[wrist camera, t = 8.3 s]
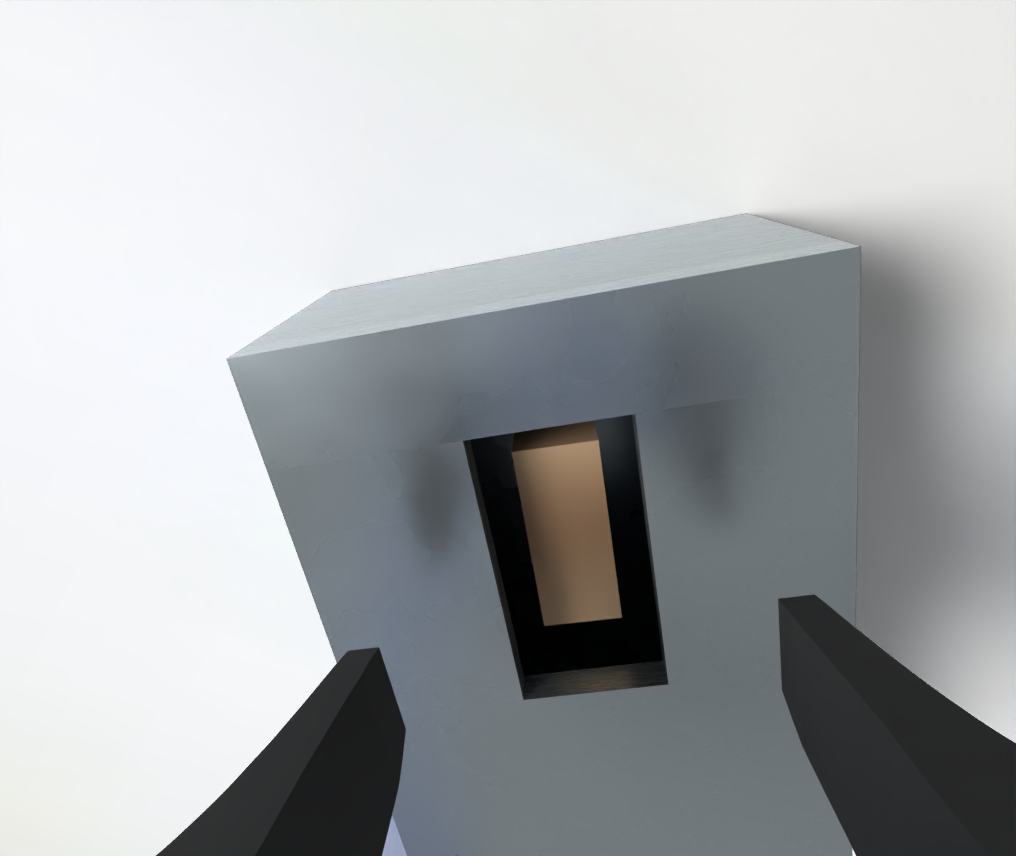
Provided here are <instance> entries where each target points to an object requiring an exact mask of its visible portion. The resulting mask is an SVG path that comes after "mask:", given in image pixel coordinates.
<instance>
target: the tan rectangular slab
mask: <svg viewBox="0 0 1016 856" xmlns="http://www.w3.org/2000/svg"><path fill="white" fill-rule="evenodd" d="M512 457H513V463H514V468H515V473H516V478H517V484H518V489H519V494H520V500H521V505H522V510H523V516H524V521H525V526H526V531H527V537H528V542H529V547H530V553H531V558H532V563H533V569H534V574H535V579H536V584H537V590H538V595H539V600H540V606H541V611H542V616H543V622H544V626H549V625H558V624H567V623H576V622H586V621H595V620H604V619H613V618H622V614H621V607H620V599H619V592H618V584H617V577H616V569H615V561H614V554H613V546H612V539H611V531H610V524H609V516H608V509H607V501H606V494H605V486H604V478H603V471H602V463H601V456H600V448H599V441H598V436H597V431H596V425H595V420H593V421H587V422H580V423H574V424H567V425H561V426H554V427H548V428H542V429H535V430H529V431H522V432H516V433H513V443H512Z"/></svg>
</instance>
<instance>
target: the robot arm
mask: <svg viewBox="0 0 1016 856" xmlns="http://www.w3.org/2000/svg"><path fill="white" fill-rule="evenodd" d="M778 609H779V634H780V658H781V683H782V692H783V694H784V697H785V700H786V703H787V706H788V708H789V711H790V714H791V717H792V720H793V723H794V725H795V728H796V731H797V733H798V736H799V739H800V741H801V744H802V747H803V749H804V751H805V753H806V755H807V757H808V759H809V761H810V763H811V765H812V767H813V769H814V771H815V773H816V775H817V777H818V779H819V782H820V784H821V786H822V788H823V790H824V792H825V794H826V796H827V798H828V800H829V802H830V804H831V806H832V808H833V810H834V812H835V814H836V816H837V818H838V820H839V822H840V824H841V826H842V828H843V830H844V832H845V834H846V836H847V838H848V840H849V842H850V844H851V846H852V848H853V850H854V852H855V854H856V856H1016V743H1014V742H1013V741H1011V740H1009V739H1008V738H1006V737H1004V736H1003V735H1001V734H1000V733H998V732H996V731H995V730H993V729H992V728H990V727H989V726H987V725H986V724H984V723H983V722H981V721H979V720H978V719H977V718H975V717H974V716H972V715H971V714H969V713H968V712H966V711H965V710H963V709H962V708H961V707H959V706H958V705H956V704H955V703H953V702H952V701H950V700H949V699H948V698H946V697H945V696H943V695H942V694H941V693H939V692H938V691H936V690H935V689H934V688H932V687H931V686H930V685H928V684H927V683H926V682H924V681H923V680H922V679H920V678H919V677H918V676H916V675H915V674H914V673H912V672H911V671H910V670H908V669H907V668H906V667H904V666H903V665H902V664H900V663H899V662H898V661H897V660H895V659H894V658H893V657H891V656H890V655H889V654H887V653H886V652H885V651H884V650H882V649H881V648H880V647H879V646H877V645H876V644H875V643H874V642H872V641H871V640H870V639H869V638H868V637H866V636H865V635H864V634H863V633H861V632H860V631H859V630H858V629H856V628H855V627H854V626H853V625H852V624H850V623H849V622H848V621H847V620H846V619H844V618H843V617H842V616H841V615H840V614H838V613H837V612H836V611H835V610H834V609H832V608H831V607H830V606H829V605H828V604H826V603H825V602H824V601H823V600H821V599H820V598H819V597H817V596H816V595H815V594H813V595H805V596H797V597H788V598H780V599H778ZM405 734H406V728H405V725H404V722H403V718H402V715H401V712H400V709H399V706H398V703H397V700H396V697H395V694H394V691H393V688H392V685H391V682H390V679H389V676H388V673H387V670H386V667H385V664H384V661H383V657H382V654H381V651H380V648H379V647H375V648H367V649H359V650H350V651H347V652H346V654H345V655H344V656H343V657H342V658H341V659H340V660H339V662H338V663H337V664H336V665H335V666H334V667H333V669H332V670H331V671H330V672H329V674H328V675H327V676H326V677H325V678H324V680H323V681H322V682H321V683H320V684H319V686H318V687H317V688H316V689H315V690H314V692H313V693H312V694H311V695H310V696H309V698H308V699H307V700H306V701H305V703H304V704H303V705H302V706H301V707H300V708H299V710H298V711H297V712H296V713H295V714H294V715H293V717H292V718H291V719H290V720H289V721H288V722H287V724H286V725H285V726H284V727H283V728H282V729H281V731H280V732H279V733H278V734H277V735H276V737H275V738H274V739H273V740H272V741H271V742H270V743H269V744H268V745H267V746H266V748H265V749H264V750H263V751H262V752H261V753H260V754H259V755H258V756H257V757H256V758H255V759H254V761H253V762H252V763H251V764H250V765H249V766H248V767H247V768H246V769H245V770H244V771H243V772H242V774H241V775H240V776H239V777H238V778H237V779H236V780H235V781H234V782H233V783H232V784H231V785H230V786H229V788H228V789H227V790H226V791H225V792H224V793H223V794H222V795H221V796H220V797H219V798H218V799H217V800H216V801H215V802H214V803H213V804H212V805H211V806H210V807H209V808H207V809H206V810H205V811H204V812H203V813H202V814H201V815H200V816H199V817H198V818H197V819H196V820H195V821H194V822H193V823H192V824H191V825H190V826H188V827H187V828H186V829H185V830H184V831H183V832H182V833H181V834H180V835H179V836H178V837H177V838H176V839H175V840H173V841H172V842H171V843H170V844H169V845H168V846H167V847H166V848H164V849H163V850H162V851H161V852H160V853H159V854H157V855H156V856H407V854H406V852H405V849H404V846H403V843H402V841H401V838H400V835H399V832H398V830H397V827H396V824H395V821H394V819H393V816H392V813H393V809H394V805H395V801H396V797H397V792H398V788H399V782H400V775H401V768H402V760H403V752H404V743H405Z"/></svg>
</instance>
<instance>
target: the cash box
mask: <svg viewBox="0 0 1016 856" xmlns="http://www.w3.org/2000/svg"><path fill="white" fill-rule="evenodd" d="M860 268H861V246H858V245H855V244H851V243H848V242H844V241H841V240H837V239H834V238H830V237H827V236H823V235H820V234H816V233H813V232H809V231H806V230H802V229H799V228H795V227H792V226H788V225H785V224H781V223H778V222H774V221H771V220H767V219H764V218H760V217H757V216H753V215H750V214H741V215H735V216H730V217H725V218H719V219H714V220H709V221H703V222H698V223H693V224H687V225H682V226H677V227H671V228H666V229H660V230H655V231H650V232H644V233H639V234H634V235H628V236H623V237H618V238H612V239H607V240H602V241H596V242H591V243H585V244H580V245H575V246H569V247H564V248H559V249H553V250H548V251H543V252H537V253H532V254H527V255H521V256H516V257H511V258H505V259H500V260H494V261H489V262H484V263H478V264H473V265H468V266H462V267H457V268H452V269H446V270H441V271H436V272H430V273H425V274H419V275H414V276H409V277H403V278H398V279H393V280H387V281H382V282H377V283H371V284H366V285H361V286H355V287H350V288H344V289H339V290H334V291H331V292H329V293H328V294H326V295H324V296H323V297H321V298H320V299H318V300H317V301H315V302H314V303H312V304H311V305H309V306H307V307H306V308H304V309H303V310H301V311H300V312H298V313H297V314H295V315H294V316H292V317H290V318H289V319H287V320H286V321H284V322H283V323H281V324H280V325H278V326H277V327H275V328H273V329H272V330H270V331H269V332H267V333H266V334H264V335H263V336H261V337H260V338H258V339H256V340H255V341H253V342H252V343H250V344H249V345H247V346H246V347H244V348H243V349H241V350H239V351H238V352H236V353H235V354H233V355H232V356H230V357H229V358H227V362H228V365H229V367H230V370H231V373H232V376H233V378H234V381H235V384H236V387H237V389H238V392H239V395H240V398H241V400H242V403H243V406H244V409H245V411H246V414H247V417H248V420H249V422H250V425H251V428H252V431H253V433H254V436H255V439H256V442H257V444H258V447H259V450H260V453H261V455H262V458H263V461H264V464H265V466H266V469H267V472H268V475H269V477H270V480H271V483H272V486H273V488H274V491H275V494H276V497H277V499H278V502H279V505H280V508H281V510H282V513H283V516H284V519H285V521H286V524H287V527H288V530H289V532H290V535H291V538H292V541H293V543H294V546H295V549H296V552H297V554H298V557H299V560H300V563H301V565H302V568H303V571H304V574H305V576H306V579H307V582H308V585H309V587H310V590H311V593H312V596H313V598H314V601H315V604H316V607H317V609H318V612H319V615H320V618H321V620H322V623H323V626H324V629H325V631H326V634H327V637H328V640H329V642H330V645H331V648H332V651H333V653H334V656H335V659H336V662H337V663H338V662H339V660H340V659H341V658H342V657H343V656H344V655H345V654H346V652H347V651H350V650H359V649H367V648H375V647H379V648H380V651H381V654H382V657H383V661H384V664H385V667H386V670H387V673H388V676H389V679H390V682H391V685H392V688H393V691H394V694H395V697H396V700H397V703H398V706H399V709H400V712H401V715H402V718H403V722H404V725H405V728H406V734H405V743H404V752H403V760H402V768H401V775H400V782H399V788H398V792H397V797H396V801H395V805H394V809H393V813H392V816H393V819H394V821H395V824H396V827H397V830H398V832H399V835H400V838H401V841H402V843H403V846H404V849H405V852H406V854H407V856H852V846H851V844H850V842H849V840H848V838H847V836H846V834H845V832H844V830H843V828H842V826H841V824H840V822H839V820H838V818H837V816H836V814H835V812H834V810H833V808H832V806H831V804H830V802H829V800H828V798H827V796H826V794H825V792H824V790H823V788H822V786H821V784H820V782H819V779H818V777H817V775H816V773H815V771H814V769H813V767H812V765H811V763H810V761H809V759H808V757H807V755H806V753H805V751H804V749H803V747H802V744H801V741H800V739H799V736H798V733H797V731H796V728H795V725H794V723H793V720H792V717H791V714H790V711H789V708H788V706H787V703H786V700H785V697H784V694H783V692H782V683H781V658H780V634H779V609H778V599H780V598H788V597H797V596H805V595H813V594H815V595H816V596H817V597H819V598H820V599H821V600H823V601H824V602H825V603H826V604H828V605H829V606H830V607H831V608H832V609H834V610H835V611H836V612H837V613H838V614H840V615H841V616H842V617H843V618H844V619H846V620H847V621H848V622H849V623H850V624H852V625H853V626H854V627H855V625H856V554H857V482H858V411H859V339H860ZM593 420H595V425H596V431H597V436H598V441H599V448H600V456H601V463H602V471H603V478H604V486H605V494H606V501H607V509H608V516H609V524H610V531H611V539H612V546H613V554H614V561H615V569H616V577H617V584H618V592H619V599H620V607H621V614H622V618H613V619H604V620H595V621H586V622H576V623H567V624H558V625H549V626H544V622H543V616H542V611H541V606H540V600H539V595H538V590H537V584H536V579H535V574H534V569H533V563H532V558H531V553H530V547H529V542H528V537H527V531H526V526H525V521H524V516H523V510H522V505H521V500H520V494H519V489H518V484H517V478H516V473H515V468H514V463H513V457H512V443H513V433H516V432H522V431H529V430H535V429H542V428H548V427H554V426H561V425H567V424H574V423H580V422H587V421H593Z"/></svg>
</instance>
